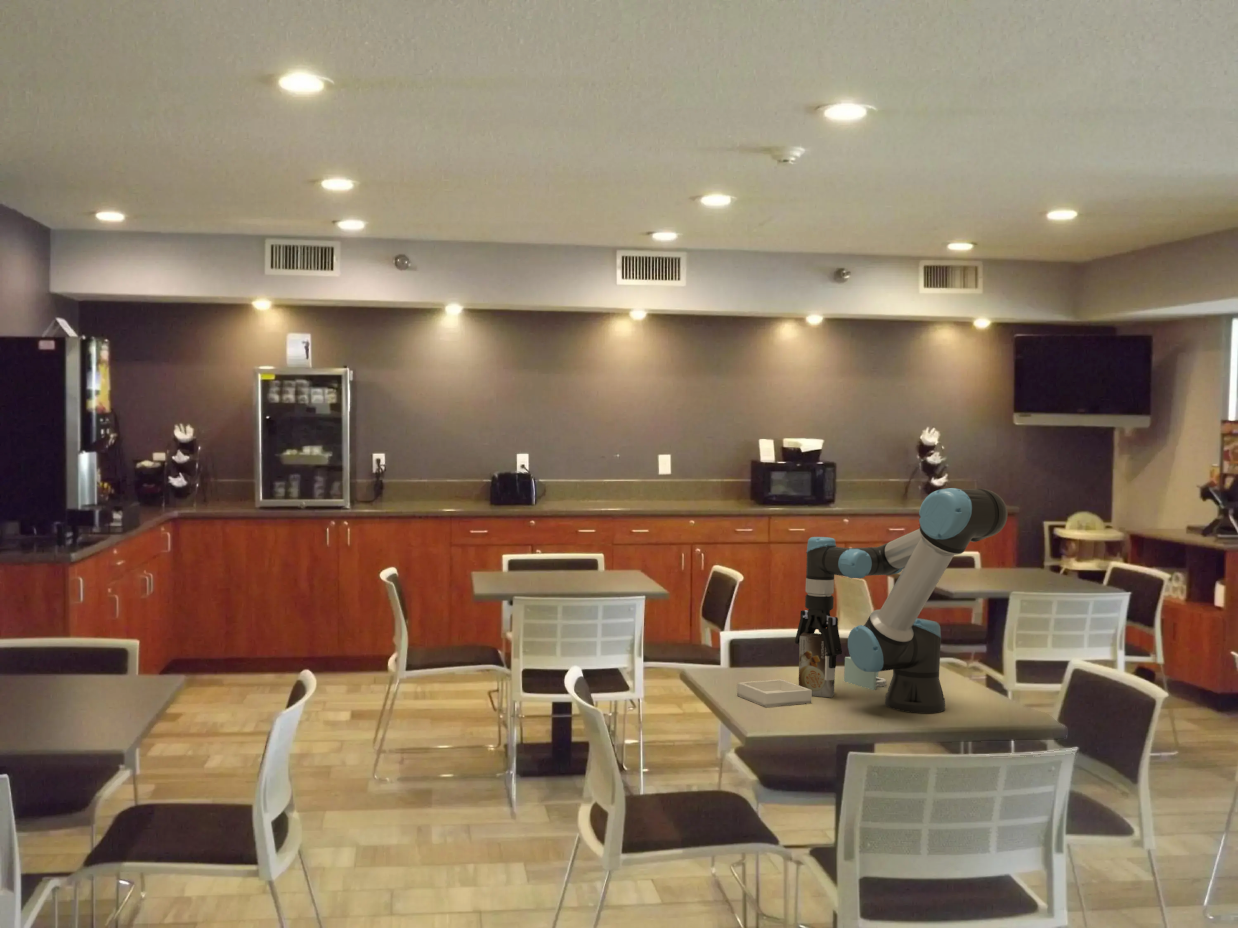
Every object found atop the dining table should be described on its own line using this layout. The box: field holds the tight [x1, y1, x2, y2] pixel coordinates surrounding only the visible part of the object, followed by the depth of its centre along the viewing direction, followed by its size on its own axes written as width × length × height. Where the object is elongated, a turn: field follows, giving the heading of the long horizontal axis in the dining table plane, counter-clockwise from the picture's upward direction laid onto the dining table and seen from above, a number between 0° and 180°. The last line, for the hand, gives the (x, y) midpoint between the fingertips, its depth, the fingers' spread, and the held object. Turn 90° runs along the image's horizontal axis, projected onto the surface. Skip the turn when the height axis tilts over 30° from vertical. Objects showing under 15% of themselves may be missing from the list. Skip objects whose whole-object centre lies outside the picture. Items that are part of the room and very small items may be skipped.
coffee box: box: [798, 632, 835, 698], centre depth 306 cm, size 9×6×16 cm
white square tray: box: [736, 678, 813, 708], centre depth 298 cm, size 14×14×4 cm
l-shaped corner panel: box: [843, 656, 887, 691], centre depth 322 cm, size 12×12×8 cm
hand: (816, 675), depth 306 cm, fingers open, 11 cm apart
